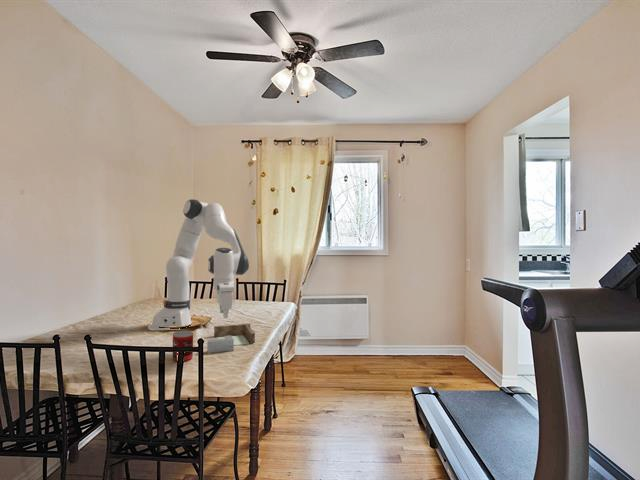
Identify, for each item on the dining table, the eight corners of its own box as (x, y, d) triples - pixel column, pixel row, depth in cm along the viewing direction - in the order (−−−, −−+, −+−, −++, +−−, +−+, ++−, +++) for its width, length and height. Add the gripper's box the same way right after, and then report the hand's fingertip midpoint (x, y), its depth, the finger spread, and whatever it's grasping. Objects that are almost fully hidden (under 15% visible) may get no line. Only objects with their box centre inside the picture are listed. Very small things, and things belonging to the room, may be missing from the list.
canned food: (175, 355, 155) (176, 330, 154) (194, 355, 155) (195, 330, 155) (169, 362, 147) (170, 335, 147) (190, 362, 148) (190, 335, 147)
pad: (221, 346, 168) (221, 346, 168) (217, 338, 180) (217, 337, 180) (249, 343, 173) (249, 343, 173) (243, 335, 186) (243, 335, 186)
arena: (218, 347, 167) (219, 336, 167) (214, 336, 183) (214, 326, 183) (257, 343, 174) (257, 333, 174) (249, 332, 190) (249, 323, 190)
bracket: (208, 353, 159) (208, 342, 158) (206, 348, 165) (206, 337, 165) (233, 350, 163) (233, 339, 163) (230, 345, 169) (231, 335, 169)
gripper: (213, 281, 170) (213, 310, 170) (220, 288, 151) (220, 321, 152) (227, 280, 172) (227, 309, 173) (235, 287, 154) (235, 320, 154)
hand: (223, 315), depth 162 cm, fingers open, 8 cm apart
